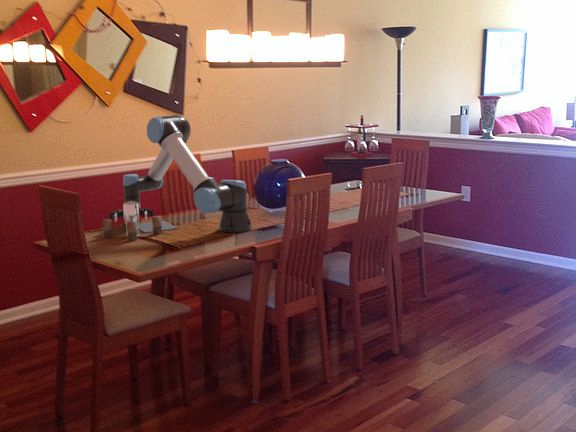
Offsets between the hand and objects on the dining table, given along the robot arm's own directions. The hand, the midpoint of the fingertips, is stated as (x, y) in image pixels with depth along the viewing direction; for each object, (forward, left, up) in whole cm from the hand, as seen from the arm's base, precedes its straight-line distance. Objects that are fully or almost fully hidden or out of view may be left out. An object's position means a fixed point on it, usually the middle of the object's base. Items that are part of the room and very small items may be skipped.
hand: (130, 217), depth 321 cm
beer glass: (-1, 0, -8) cm, 8 cm away
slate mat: (+10, -14, -8) cm, 19 cm away
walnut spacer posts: (-4, 0, -8) cm, 9 cm away
